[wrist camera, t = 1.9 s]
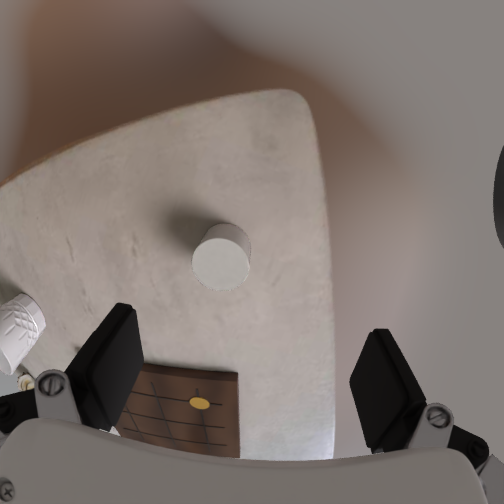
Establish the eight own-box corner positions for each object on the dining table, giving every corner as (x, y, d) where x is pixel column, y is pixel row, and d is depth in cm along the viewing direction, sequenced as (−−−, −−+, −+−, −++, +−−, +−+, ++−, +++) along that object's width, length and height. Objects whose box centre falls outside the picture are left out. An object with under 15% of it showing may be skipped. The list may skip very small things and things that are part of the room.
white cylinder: (251, 223, 25) (249, 238, 21) (250, 271, 26) (248, 292, 23) (200, 223, 25) (189, 237, 21) (202, 269, 27) (193, 290, 23)
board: (238, 372, 32) (237, 382, 30) (240, 451, 40) (239, 458, 38) (83, 350, 32) (78, 358, 31) (124, 433, 40) (122, 439, 39)
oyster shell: (57, 380, 42) (17, 365, 35) (62, 389, 40) (20, 374, 33) (50, 402, 40) (11, 389, 33) (56, 411, 38) (14, 399, 31)
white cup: (33, 337, 32) (0, 376, 23) (7, 296, 30) (-31, 330, 21) (57, 330, 31) (20, 374, 22) (28, 283, 29) (-17, 321, 19)
